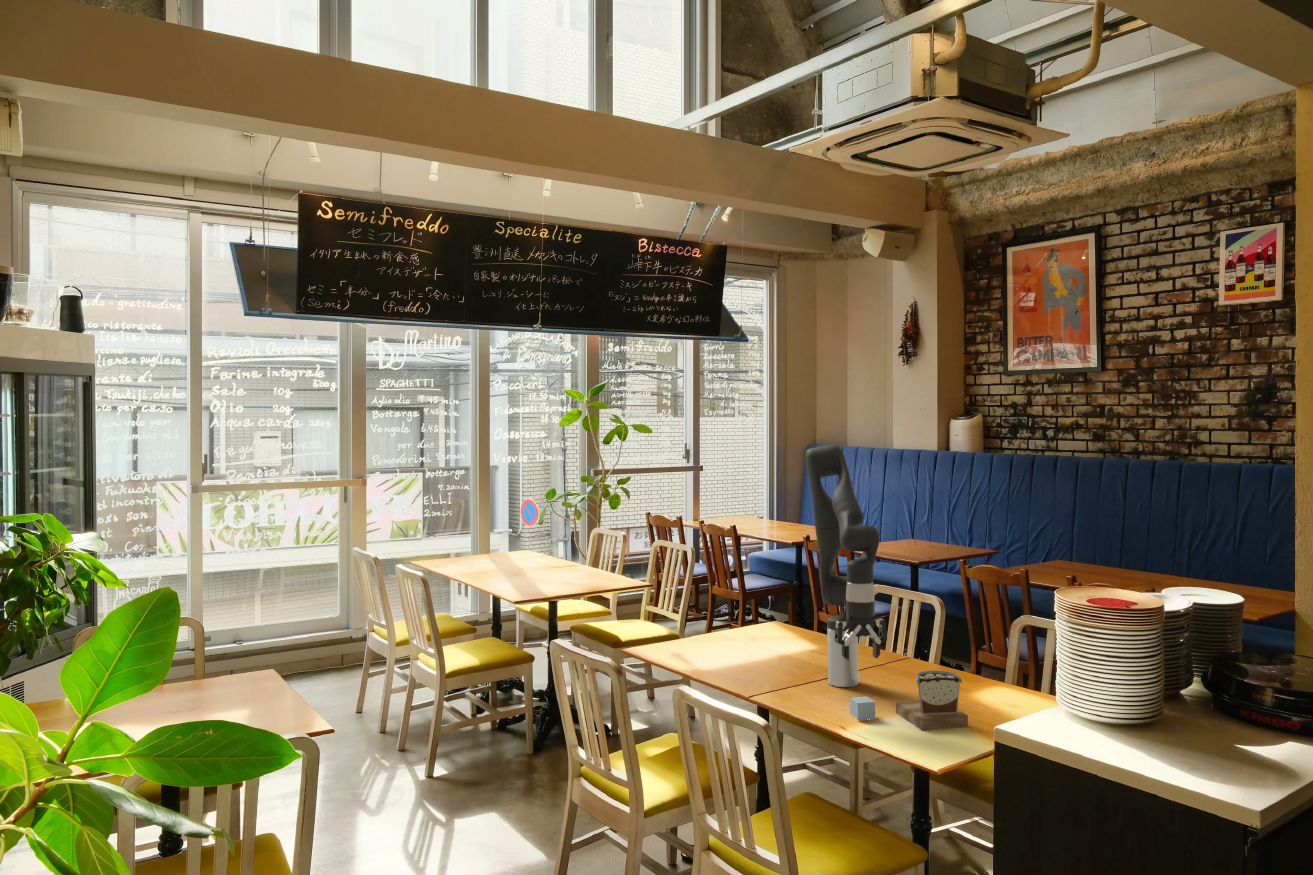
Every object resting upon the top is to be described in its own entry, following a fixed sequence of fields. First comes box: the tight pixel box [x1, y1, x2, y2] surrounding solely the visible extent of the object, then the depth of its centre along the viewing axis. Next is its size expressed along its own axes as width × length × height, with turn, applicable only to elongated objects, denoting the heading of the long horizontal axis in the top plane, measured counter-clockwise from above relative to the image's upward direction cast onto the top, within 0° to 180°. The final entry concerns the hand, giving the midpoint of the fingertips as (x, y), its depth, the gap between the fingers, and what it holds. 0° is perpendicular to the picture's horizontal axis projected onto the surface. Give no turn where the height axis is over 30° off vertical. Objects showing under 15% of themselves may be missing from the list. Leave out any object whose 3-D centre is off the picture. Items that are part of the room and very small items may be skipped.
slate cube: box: [849, 696, 876, 721], centre depth 242 cm, size 5×5×5 cm
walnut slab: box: [895, 699, 969, 731], centre depth 239 cm, size 15×13×3 cm
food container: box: [914, 669, 963, 714], centre depth 238 cm, size 12×6×10 cm, turn 93°
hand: (861, 658), depth 242 cm, fingers open, 8 cm apart
